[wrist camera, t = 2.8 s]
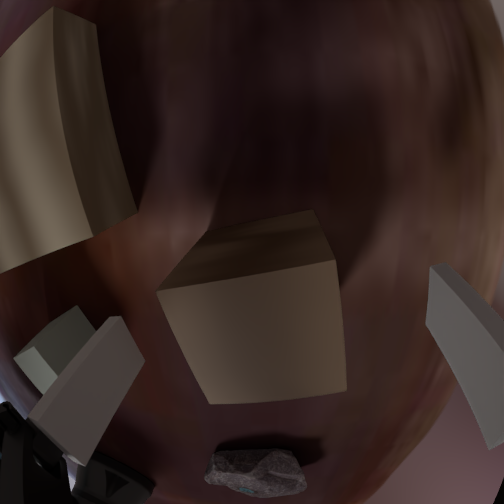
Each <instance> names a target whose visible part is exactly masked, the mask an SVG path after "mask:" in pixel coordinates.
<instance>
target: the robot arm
mask: <svg viewBox="0 0 504 504" xmlns="http://www.w3.org/2000/svg"><path fill="white" fill-rule="evenodd" d="M426 326H427V327H428V329H429V331H430V332H431V334H432V336H433V337H434V339H435V341H436V342H437V344H438V346H439V347H440V349H441V351H442V353H443V354H444V356H445V358H446V360H447V362H448V363H449V365H450V367H451V369H452V371H453V373H454V375H455V377H456V378H457V380H458V382H459V384H460V386H461V388H462V390H463V392H464V394H465V396H466V398H467V400H468V402H469V405H470V407H471V409H472V411H473V413H474V416H475V418H476V420H477V422H478V425H479V427H480V429H481V432H482V434H483V437H484V439H485V442H486V444H487V447H488V450H491V449H493V448H494V447H496V446H498V445H500V444H501V443H503V442H504V320H503V319H502V318H501V317H500V316H499V315H498V314H497V313H496V312H495V311H494V309H492V307H491V306H490V305H489V304H488V303H487V302H486V301H485V300H484V299H483V298H482V297H481V296H480V295H479V294H478V293H477V292H476V291H475V290H474V289H473V288H472V287H471V286H470V285H469V284H468V283H467V282H466V281H465V280H464V279H463V278H462V277H461V276H460V275H459V274H458V273H457V272H456V271H455V270H454V269H453V268H451V267H450V266H449V265H448V264H447V263H446V262H445V263H441V264H437V265H433V266H430V276H429V293H428V305H427V315H426ZM144 363H145V360H144V358H143V356H142V354H141V353H140V351H139V349H138V347H137V345H136V344H135V342H134V340H133V338H132V336H131V334H130V332H129V331H128V329H127V327H126V325H125V323H124V321H123V319H122V317H121V316H114V317H109V318H108V319H107V320H106V321H105V322H104V324H103V325H102V326H101V327H100V328H99V329H98V330H97V331H96V333H95V334H94V335H93V336H92V337H91V338H90V339H89V341H88V342H87V343H86V344H85V345H84V346H83V347H82V349H81V350H80V351H79V352H78V353H77V354H76V356H75V357H74V358H73V359H72V360H71V362H70V363H69V364H68V365H67V366H66V368H65V369H64V370H63V371H62V373H61V374H60V375H59V376H58V377H57V379H56V380H55V381H54V382H53V384H52V385H51V386H50V387H49V389H48V390H47V391H46V393H45V394H44V395H43V396H42V398H41V399H40V400H39V402H38V403H37V404H36V406H35V407H34V408H33V409H32V411H31V412H30V413H29V415H28V416H27V417H28V418H27V419H26V420H25V419H24V418H23V417H22V416H21V415H20V414H19V413H18V411H17V410H16V409H15V408H14V407H13V405H12V404H11V403H10V402H8V401H6V402H3V403H1V404H0V504H144V503H145V501H146V500H147V499H148V498H149V497H150V496H151V495H152V492H153V489H154V485H153V483H152V482H150V481H149V480H148V479H147V478H145V477H144V476H142V475H141V474H139V473H137V472H136V471H134V470H132V469H131V468H129V467H127V466H125V465H123V464H121V463H119V462H117V461H115V460H113V459H111V458H109V457H107V456H105V455H102V454H100V453H97V452H95V451H94V450H95V448H96V446H97V444H98V443H99V441H100V439H101V437H102V435H103V433H104V432H105V430H106V428H107V426H108V424H109V423H110V421H111V419H112V417H113V416H114V414H115V412H116V410H117V409H118V407H119V405H120V403H121V402H122V400H123V398H124V396H125V395H126V393H127V391H128V390H129V388H130V386H131V384H132V383H133V381H134V379H135V378H136V376H137V374H138V373H139V371H140V369H141V368H142V366H143V364H144ZM63 453H64V454H65V455H67V456H68V457H69V458H70V459H71V460H72V461H74V462H76V463H78V468H77V474H76V482H75V485H74V488H73V489H72V491H71V490H70V484H69V478H68V471H67V463H66V460H65V459H64V458H63V457H62V455H63ZM493 504H504V479H503V481H502V484H501V486H500V489H499V492H498V494H497V496H496V498H495V501H494V503H493Z"/></svg>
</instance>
